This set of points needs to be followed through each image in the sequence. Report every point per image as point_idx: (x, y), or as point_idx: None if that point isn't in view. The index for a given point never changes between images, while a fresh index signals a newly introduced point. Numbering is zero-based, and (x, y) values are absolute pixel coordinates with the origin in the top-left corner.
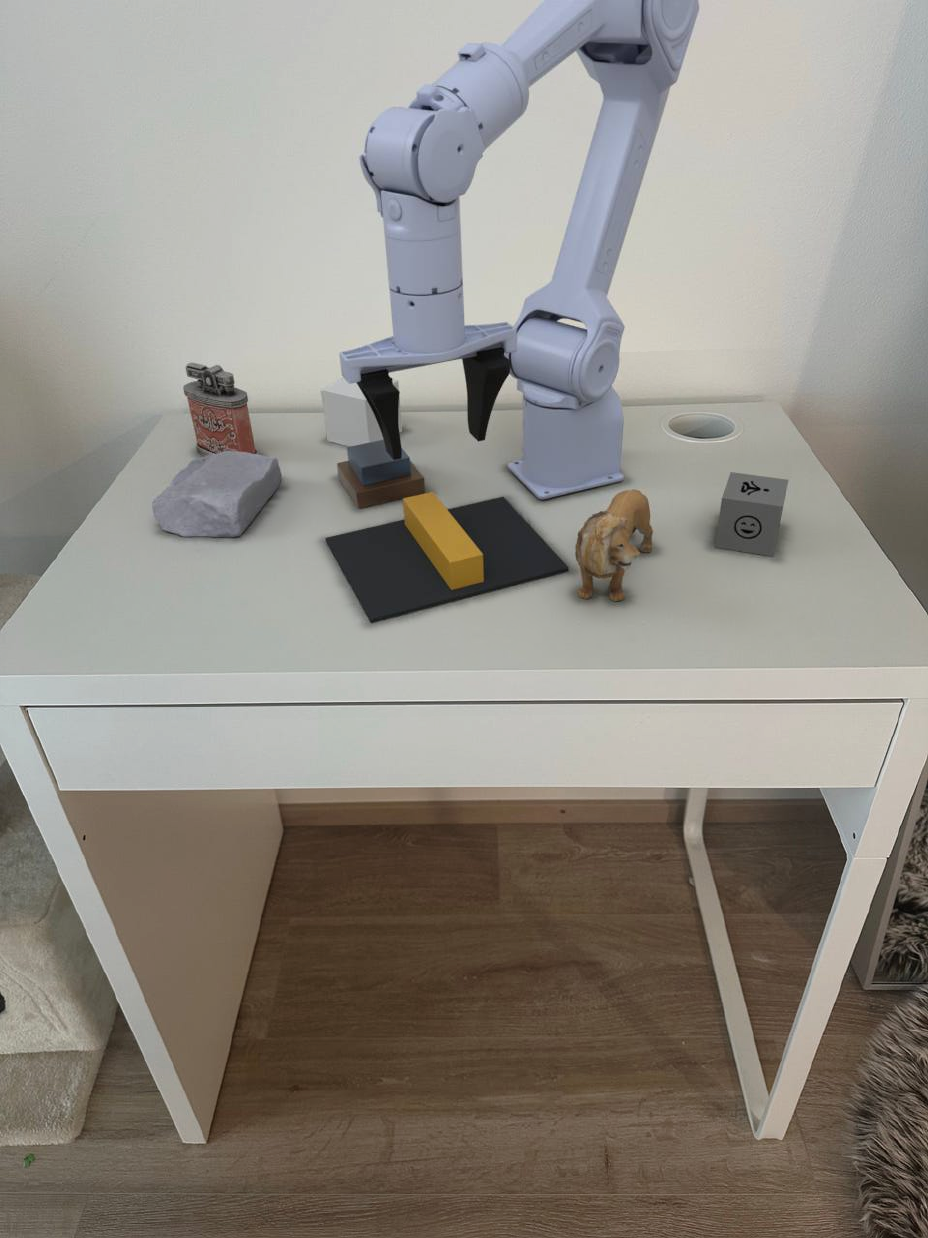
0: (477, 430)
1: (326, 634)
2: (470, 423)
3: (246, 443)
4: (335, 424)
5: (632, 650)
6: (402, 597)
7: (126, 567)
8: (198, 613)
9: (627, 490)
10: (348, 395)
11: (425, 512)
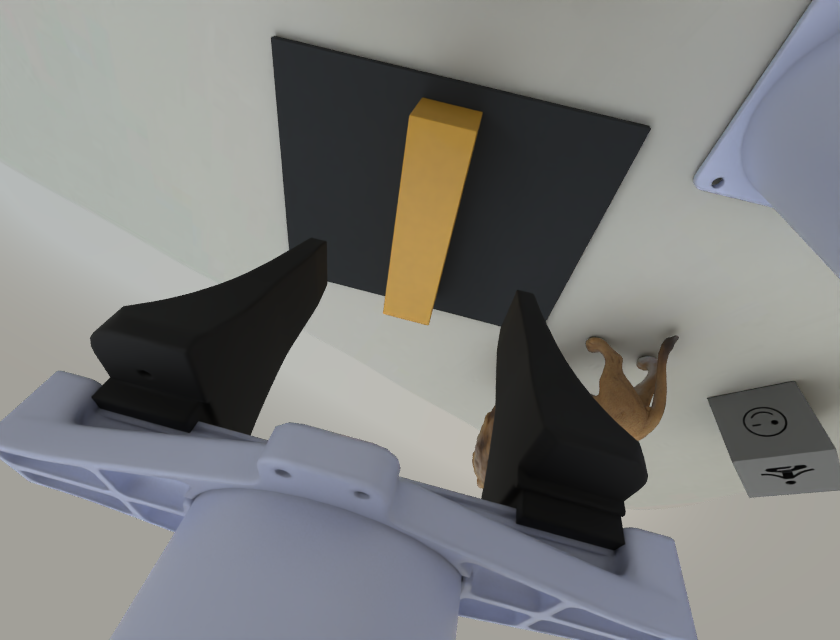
0: (498, 346)
1: (243, 254)
2: (512, 315)
3: None
4: None
5: (483, 417)
6: (336, 263)
7: None
8: (81, 116)
9: (633, 429)
10: None
11: (419, 194)
